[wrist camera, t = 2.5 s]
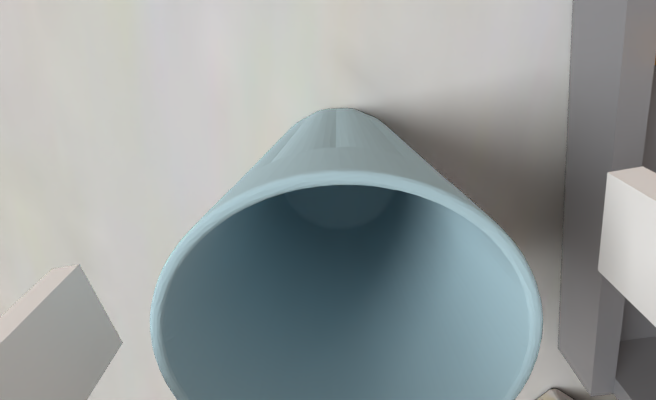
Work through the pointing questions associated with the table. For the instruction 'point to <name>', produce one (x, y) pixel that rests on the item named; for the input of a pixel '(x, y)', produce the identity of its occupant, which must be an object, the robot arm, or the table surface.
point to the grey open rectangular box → (590, 186)
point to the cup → (345, 281)
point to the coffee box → (554, 395)
